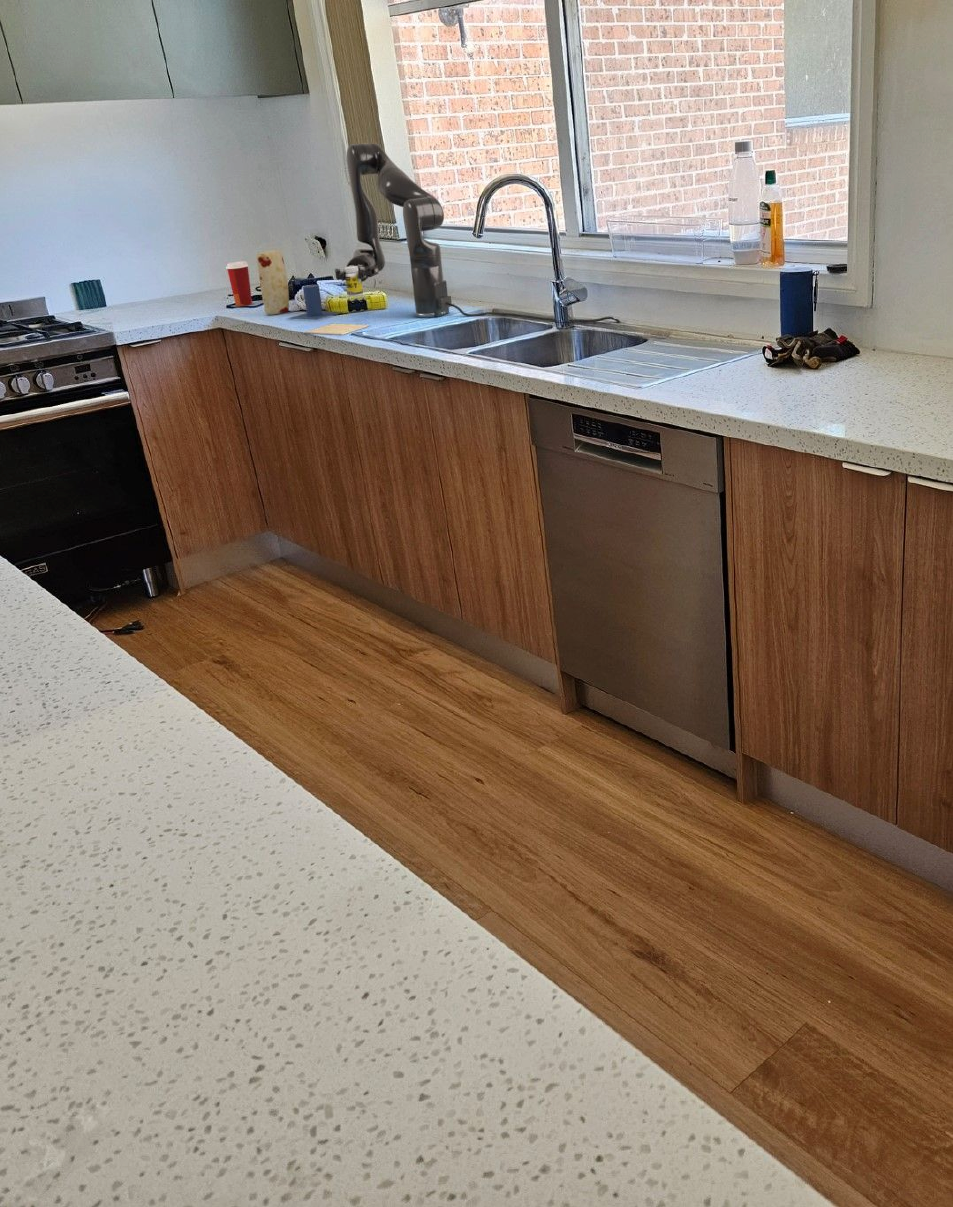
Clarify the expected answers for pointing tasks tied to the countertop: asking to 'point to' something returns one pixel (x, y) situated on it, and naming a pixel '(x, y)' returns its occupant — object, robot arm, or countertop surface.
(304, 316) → the blue mat
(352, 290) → the supplement bottle
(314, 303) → the blue rectangular block
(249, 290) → the paper cup
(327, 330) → the cream mat
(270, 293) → the food model
